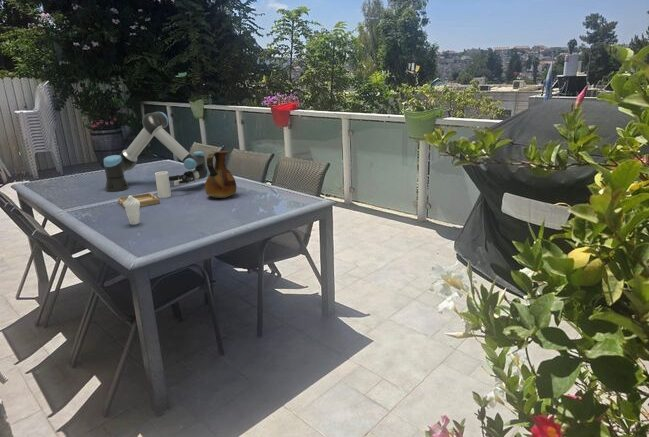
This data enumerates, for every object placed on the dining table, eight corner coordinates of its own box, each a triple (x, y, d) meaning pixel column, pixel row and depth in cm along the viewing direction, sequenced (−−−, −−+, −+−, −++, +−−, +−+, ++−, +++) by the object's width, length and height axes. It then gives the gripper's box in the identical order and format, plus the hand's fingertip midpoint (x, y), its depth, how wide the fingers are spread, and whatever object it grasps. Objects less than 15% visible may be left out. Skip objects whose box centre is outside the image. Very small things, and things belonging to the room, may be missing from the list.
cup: (167, 198, 296) (163, 174, 291) (155, 197, 298) (152, 173, 293) (173, 195, 304) (170, 171, 299) (162, 194, 305) (159, 171, 300)
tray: (118, 202, 288) (117, 198, 287) (150, 197, 299) (150, 192, 298) (126, 209, 273) (125, 204, 272) (159, 203, 284) (159, 198, 283)
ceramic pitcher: (243, 194, 301) (239, 149, 292) (224, 201, 284) (219, 154, 275) (219, 191, 309) (214, 147, 300) (199, 199, 292) (194, 152, 283)
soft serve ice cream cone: (129, 221, 250) (124, 193, 245) (145, 220, 251) (140, 192, 246) (124, 226, 242) (119, 197, 237) (140, 225, 243) (135, 196, 238)
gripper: (204, 183, 313) (181, 189, 295) (178, 179, 325) (155, 186, 307) (203, 172, 311) (180, 178, 293) (177, 169, 322) (153, 175, 305)
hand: (167, 182), depth 300 cm, fingers open, 13 cm apart
